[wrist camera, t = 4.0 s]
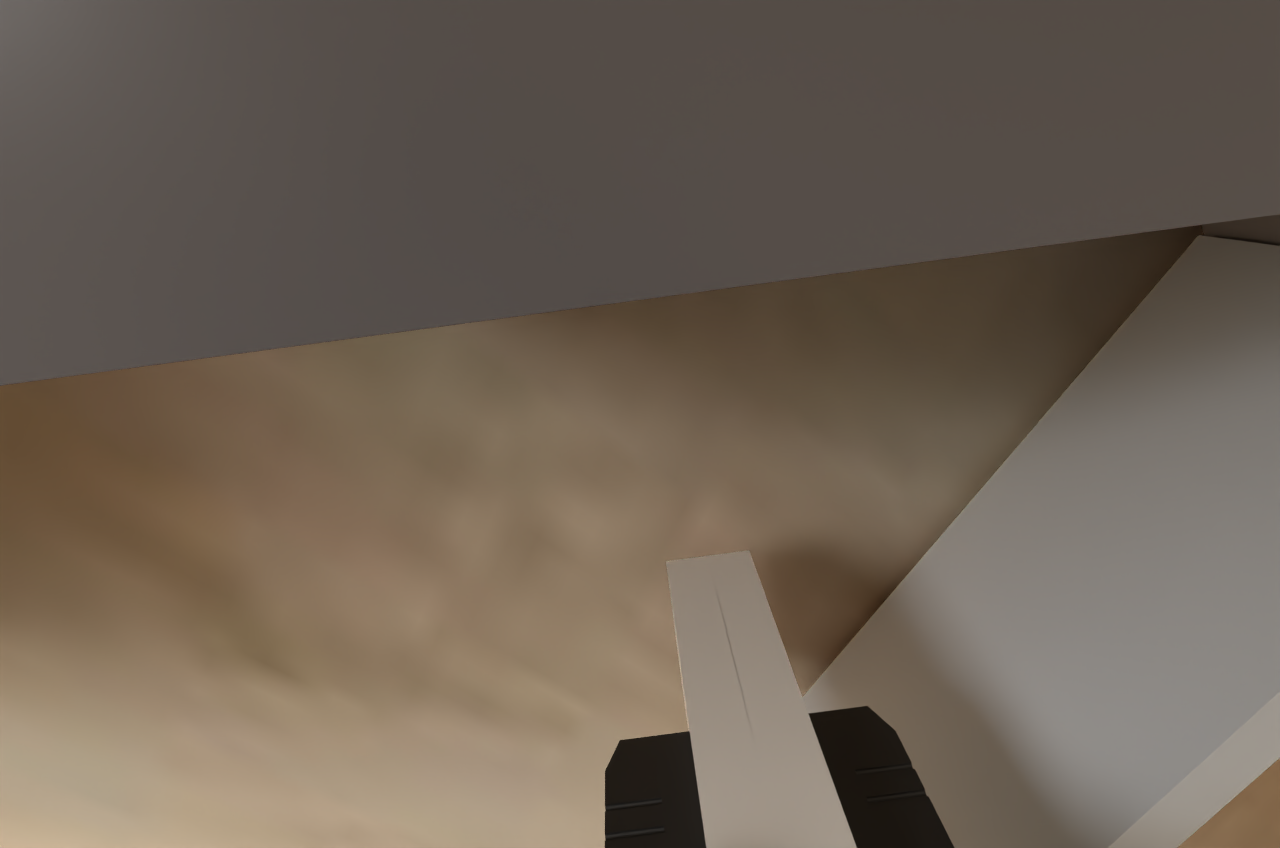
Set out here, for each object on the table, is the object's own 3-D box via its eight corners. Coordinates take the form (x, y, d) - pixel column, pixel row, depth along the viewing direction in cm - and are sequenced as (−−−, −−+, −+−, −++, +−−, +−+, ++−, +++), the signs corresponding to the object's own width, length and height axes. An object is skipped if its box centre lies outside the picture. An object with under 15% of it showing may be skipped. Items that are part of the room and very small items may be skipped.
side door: (868, 736, 17) (1017, 1067, 11) (781, 691, 16) (887, 1011, 10) (1347, 210, 13) (1989, 255, 7) (1256, 127, 13) (1866, 102, 7)
